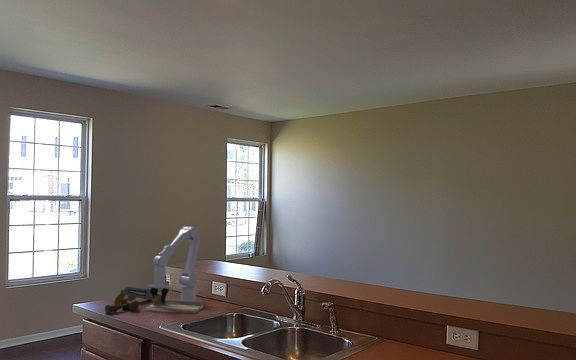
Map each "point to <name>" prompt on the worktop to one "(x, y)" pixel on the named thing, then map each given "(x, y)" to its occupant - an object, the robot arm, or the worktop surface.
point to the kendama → (122, 306)
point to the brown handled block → (158, 300)
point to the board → (177, 306)
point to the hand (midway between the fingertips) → (159, 302)
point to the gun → (133, 294)
